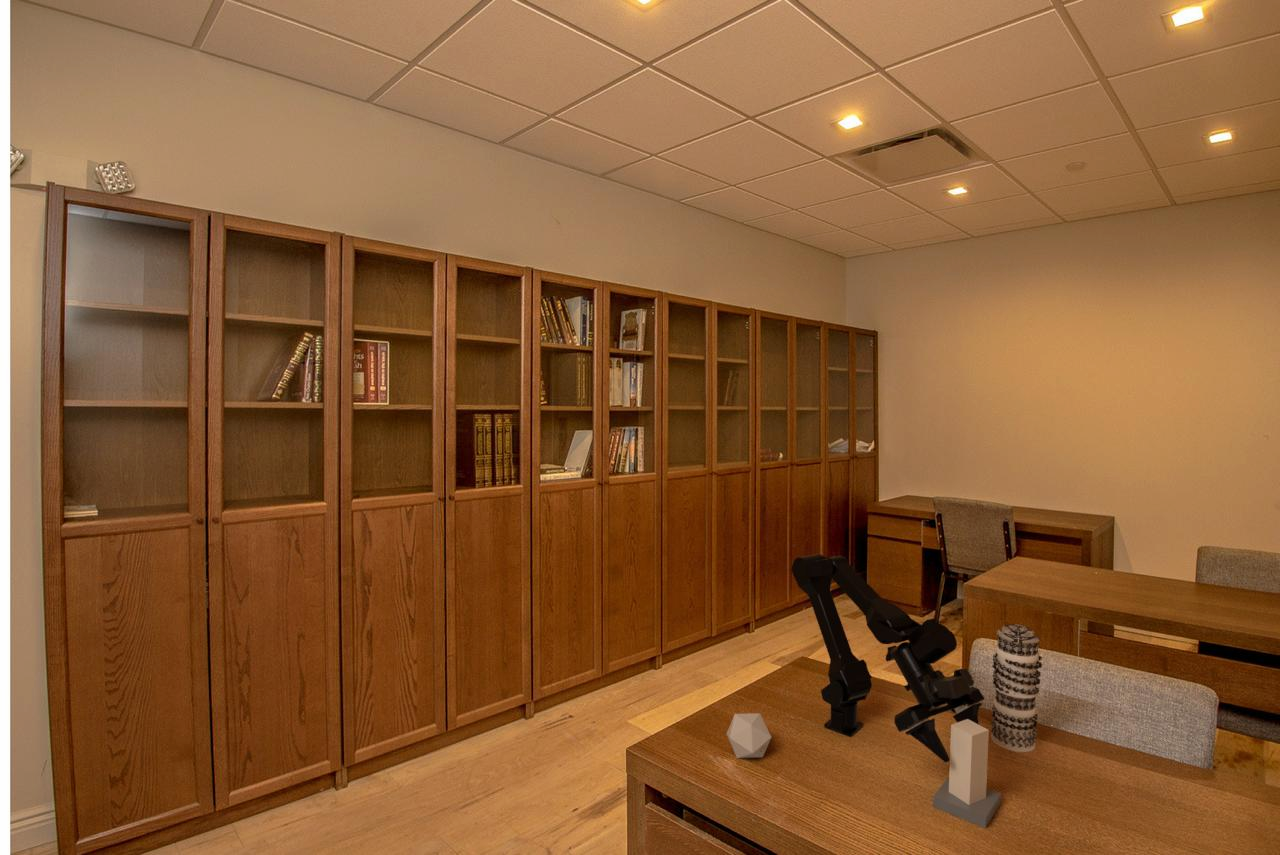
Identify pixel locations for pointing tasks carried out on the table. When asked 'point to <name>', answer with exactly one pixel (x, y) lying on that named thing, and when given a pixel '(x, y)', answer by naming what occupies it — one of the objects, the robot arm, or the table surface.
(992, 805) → the plate
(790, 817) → the table surface
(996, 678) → the decorative candle
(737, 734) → the die
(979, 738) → the tall white pillar block
